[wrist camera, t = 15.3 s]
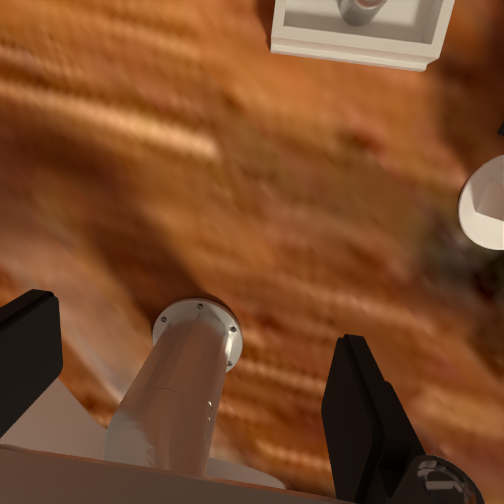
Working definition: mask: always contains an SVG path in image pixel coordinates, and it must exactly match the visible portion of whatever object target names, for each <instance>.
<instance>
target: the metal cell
mask: <svg viewBox="0 0 504 504" xmlns="http://www.w3.org/2000/svg"><path fill="white" fill-rule="evenodd" d="M387 1H388V0H339V11H340V14H341V16H342V18H343V20H344V21H345V22H346V23H348V24H349V25H352V26H363V25H366V24H367V23H369V22H370V21H371V20H373V18H374V17H375V16H376V15H377V13H378V12H379V11H380V10H381V8H382V7H383V6H384V5H385V3H386V2H387Z"/></svg>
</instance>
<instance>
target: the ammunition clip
mask: <svg viewBox="0 0 504 504" xmlns="http://www.w3.org/2000/svg"><path fill="white" fill-rule="evenodd" d="M498 134H500V135H502V136H504V122H503V124H502V125H501V127H500V128H499V130H498Z"/></svg>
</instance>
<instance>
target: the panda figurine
mask: <svg viewBox="0 0 504 504" xmlns="http://www.w3.org/2000/svg"><path fill="white" fill-rule="evenodd" d="M458 218H459V222H460V225H461V227H462V230H463V231H464V233H465V234H466V235H467V236H468V237H469V238H470V239H471V240H472V241H473V242H475V243H477V244H479V245H481V246H483V247H486V248H490V249H496V250H504V154H502V155H500V156H497V157H495V158H493V159H491V160H489V161H488V162H486V163H485V164H483V165H482V166H481V167H480V168H479V169H478V170H476V171H475V172H474V174H473V175H472V176H471V177H470V178H469V180H468V181H467V183H466V184H465V186H464V188H463V190H462V192H461V195H460V198H459V203H458Z"/></svg>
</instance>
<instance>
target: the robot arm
mask: <svg viewBox="0 0 504 504" xmlns="http://www.w3.org/2000/svg"><path fill="white" fill-rule="evenodd" d="M200 304H202V305H200ZM152 339H153V345H154V347H153V349H152V351H151V352H150V354H149V356H148V358H147V359H146V361H145V363H144V364H143V366H142V368H141V369H140V371H139V373H138V374H137V376H136V378H135V379H134V381H133V383H132V384H131V386H130V388H129V390H128V391H127V393H126V395H125V396H124V398H123V400H122V401H121V403H120V405H119V407H118V408H117V410H116V412H115V413H114V415H113V417H112V419H111V421H110V423H109V426H108V429H107V432H106V437H105V443H104V460H97V459H91V458H85V457H78V456H72V455H65V454H58V453H52V452H45V451H38V450H31V449H27V448H22V447H18V446H14V445H8V444H0V504H485V502H484V499H483V497H482V494H481V492H480V490H479V489H478V487H477V486H476V484H475V483H474V482H473V480H472V479H471V478H470V477H469V476H468V475H467V474H466V473H465V472H464V471H462V470H461V469H460V468H458V467H457V466H456V465H454V464H453V463H451V462H449V461H447V460H445V459H443V458H440V457H437V456H434V455H426V453H425V451H424V449H423V447H422V445H421V443H420V441H419V439H418V437H417V435H416V433H415V431H414V429H413V427H412V425H411V423H410V421H409V419H408V417H407V415H406V413H405V411H404V409H403V407H402V405H401V403H400V401H399V399H398V397H397V395H396V393H395V391H394V389H393V387H392V385H391V384H390V383H389V382H387V381H385V380H384V378H383V376H382V374H381V372H380V370H379V368H378V366H377V363H376V361H375V359H374V357H373V355H372V353H371V351H370V349H369V347H368V345H367V343H366V340H365V338H364V337H363V336H356V335H349V334H345V335H344V337H343V338H338V340H337V343H336V347H335V351H334V355H333V359H332V364H331V368H330V372H329V376H328V380H327V384H326V388H325V392H324V396H323V401H322V407H321V414H322V420H323V425H324V431H325V436H326V442H327V447H328V453H329V458H330V464H331V469H332V475H333V480H334V486H335V492H336V497H337V499H334V498H329V497H325V496H319V495H314V494H309V493H303V492H297V491H291V490H286V489H280V488H274V487H269V486H262V485H257V484H250V483H244V482H237V481H232V480H226V479H219V478H213V477H207V476H205V472H206V467H207V461H208V456H209V451H210V447H211V442H212V436H213V432H214V427H215V422H216V417H217V413H218V408H219V403H220V398H221V393H222V389H223V384H224V379H225V374H226V372H228V371H229V370H230V369H231V368H233V366H234V365H235V364H236V363H237V361H238V359H239V357H240V355H241V352H242V347H243V333H242V330H241V327H240V325H239V323H238V321H237V319H236V318H235V317H234V315H233V314H232V313H231V312H230V311H229V310H227V309H226V308H225V307H224V306H222V305H220V304H218V303H217V302H214V301H211V300H209V299H203V298H186V299H182V300H179V301H176V302H174V303H172V304H171V305H169V306H168V307H167V308H165V309H164V310H163V311H162V313H161V314H160V315H159V317H158V318H157V320H156V322H155V324H154V328H153V335H152ZM62 368H63V356H62V342H61V328H60V313H59V301H58V298H57V297H55V296H54V294H53V293H52V292H50V291H43V290H37V289H32V290H30V291H28V292H26V293H24V294H23V295H21V296H19V297H18V298H16V299H14V300H13V301H11V302H9V303H8V304H6V305H4V306H3V307H1V308H0V438H1V437H2V436H3V435H4V434H5V433H6V432H7V430H8V429H9V428H10V427H11V426H12V425H13V424H14V423H15V422H16V421H17V420H18V419H19V417H21V416H22V414H23V413H24V412H25V411H26V410H27V409H28V408H29V407H30V406H31V405H32V404H33V403H34V402H35V400H36V399H37V398H38V397H39V396H40V395H41V394H42V393H43V392H44V391H45V390H46V389H47V387H49V386H50V384H51V383H52V382H53V381H54V380H55V379H56V378H57V377H58V376H59V375H60V373H61V371H62Z"/></svg>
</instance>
